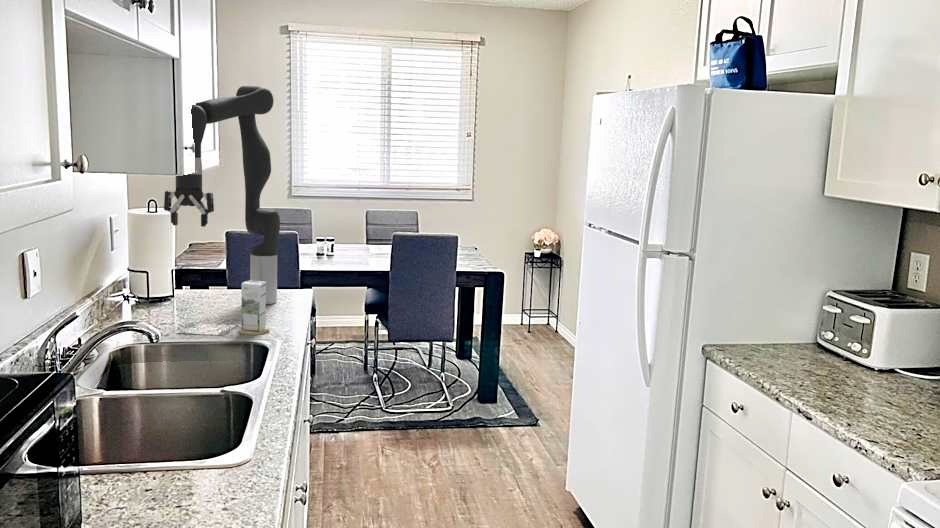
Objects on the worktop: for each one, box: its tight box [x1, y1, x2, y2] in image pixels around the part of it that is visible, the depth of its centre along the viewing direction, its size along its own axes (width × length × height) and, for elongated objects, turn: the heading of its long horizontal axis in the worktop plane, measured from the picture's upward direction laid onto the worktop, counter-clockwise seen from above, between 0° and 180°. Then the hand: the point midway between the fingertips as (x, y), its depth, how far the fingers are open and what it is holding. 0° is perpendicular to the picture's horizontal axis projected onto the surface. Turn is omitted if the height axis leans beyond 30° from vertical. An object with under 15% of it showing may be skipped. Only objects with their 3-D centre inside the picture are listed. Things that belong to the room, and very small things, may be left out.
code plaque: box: [185, 322, 235, 337], centre depth 221 cm, size 14×14×1 cm
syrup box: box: [241, 279, 267, 331], centre depth 220 cm, size 6×6×14 cm
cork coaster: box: [237, 326, 270, 336], centre depth 221 cm, size 9×9×1 cm
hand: (189, 225), depth 224 cm, fingers open, 8 cm apart
